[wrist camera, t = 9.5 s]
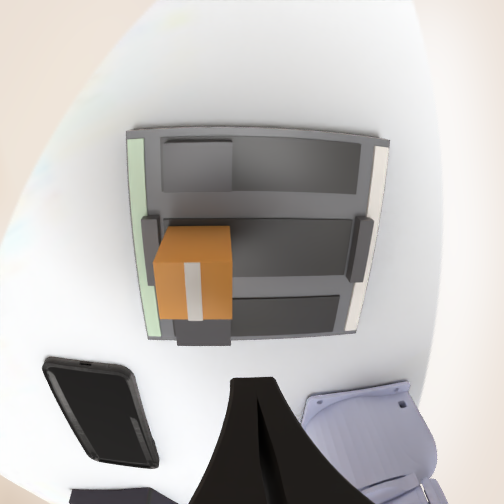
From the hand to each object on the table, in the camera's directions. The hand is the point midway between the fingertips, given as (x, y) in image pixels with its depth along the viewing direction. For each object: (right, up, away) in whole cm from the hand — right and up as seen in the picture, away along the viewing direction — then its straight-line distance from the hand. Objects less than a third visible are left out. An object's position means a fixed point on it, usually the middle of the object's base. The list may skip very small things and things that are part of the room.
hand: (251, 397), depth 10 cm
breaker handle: (-3, +5, +6) cm, 8 cm away
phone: (-13, -10, +14) cm, 21 cm away
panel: (0, +5, +8) cm, 10 cm away
